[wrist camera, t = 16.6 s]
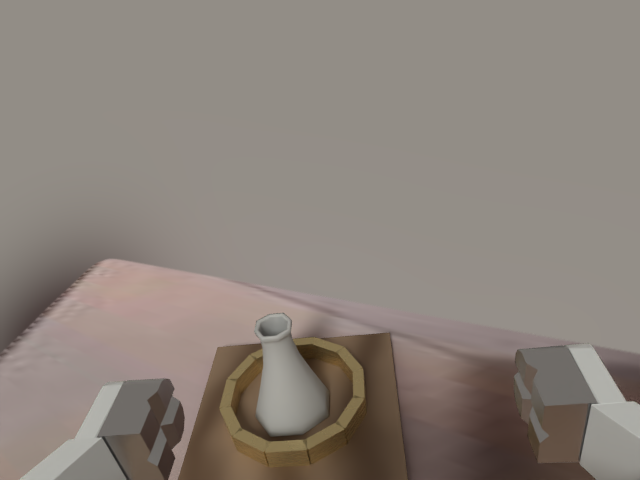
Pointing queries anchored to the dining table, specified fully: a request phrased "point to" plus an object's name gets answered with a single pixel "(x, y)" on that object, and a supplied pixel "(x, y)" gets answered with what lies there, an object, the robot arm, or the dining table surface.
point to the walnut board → (335, 469)
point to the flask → (287, 382)
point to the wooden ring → (315, 444)
